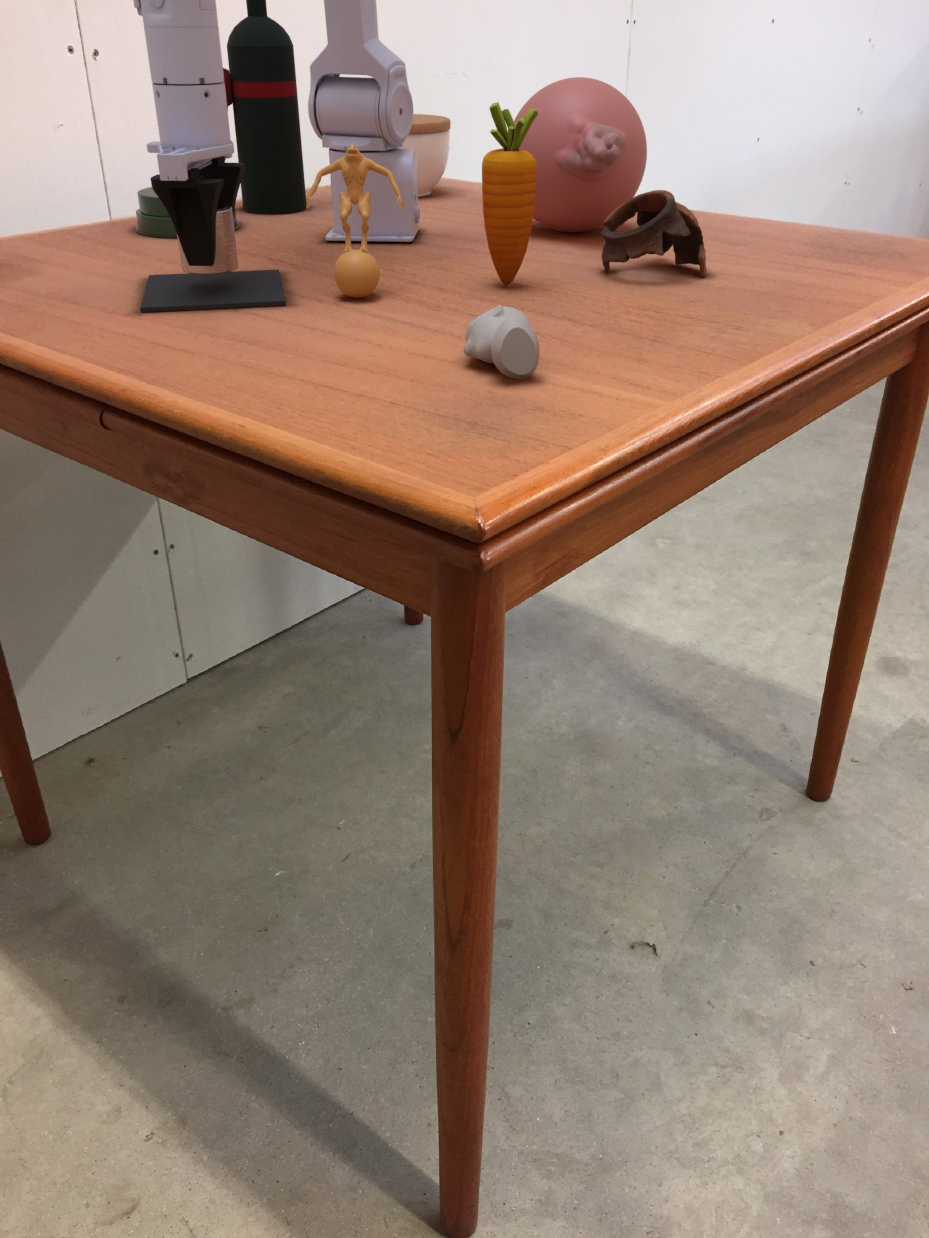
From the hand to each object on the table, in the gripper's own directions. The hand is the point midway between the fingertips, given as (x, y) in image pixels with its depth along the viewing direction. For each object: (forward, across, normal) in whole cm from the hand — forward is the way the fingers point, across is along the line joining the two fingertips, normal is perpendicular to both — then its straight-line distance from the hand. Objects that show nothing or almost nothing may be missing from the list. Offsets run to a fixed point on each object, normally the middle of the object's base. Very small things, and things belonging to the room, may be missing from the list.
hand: (210, 258), depth 88 cm
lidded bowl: (+3, -55, +11) cm, 56 cm away
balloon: (+3, -28, +33) cm, 43 cm away
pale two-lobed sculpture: (+3, +20, +26) cm, 33 cm away
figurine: (+3, 0, +13) cm, 13 cm away
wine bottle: (+3, -42, -5) cm, 42 cm away
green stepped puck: (+3, -29, -11) cm, 31 cm away
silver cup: (+1, 0, 0) cm, 1 cm away
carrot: (+3, -4, +26) cm, 26 cm away
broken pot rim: (+3, -11, +40) cm, 42 cm away
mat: (+3, 0, 0) cm, 3 cm away
